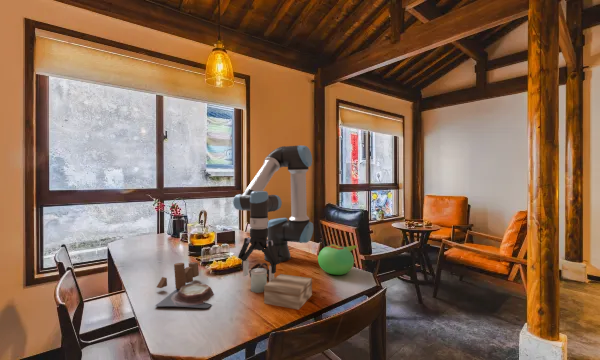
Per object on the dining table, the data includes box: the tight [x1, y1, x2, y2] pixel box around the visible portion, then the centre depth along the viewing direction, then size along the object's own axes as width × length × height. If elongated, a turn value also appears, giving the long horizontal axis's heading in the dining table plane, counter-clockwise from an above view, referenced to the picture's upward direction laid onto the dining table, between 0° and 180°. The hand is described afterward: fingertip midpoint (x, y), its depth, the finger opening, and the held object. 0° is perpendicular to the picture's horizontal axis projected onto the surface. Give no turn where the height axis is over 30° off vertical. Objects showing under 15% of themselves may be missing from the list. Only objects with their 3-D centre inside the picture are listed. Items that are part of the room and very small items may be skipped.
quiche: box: [154, 283, 215, 309], centre depth 114 cm, size 21×20×4 cm
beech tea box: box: [263, 273, 313, 310], centre depth 112 cm, size 14×14×7 cm
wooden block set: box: [156, 261, 200, 290], centre depth 125 cm, size 18×9×10 cm, turn 149°
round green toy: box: [317, 243, 358, 276], centre depth 142 cm, size 18×17×15 cm
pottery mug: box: [248, 262, 269, 279], centre depth 134 cm, size 12×9×8 cm
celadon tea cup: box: [250, 268, 268, 294], centre depth 121 cm, size 7×7×8 cm
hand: (258, 278), depth 121 cm, fingers open, 13 cm apart
